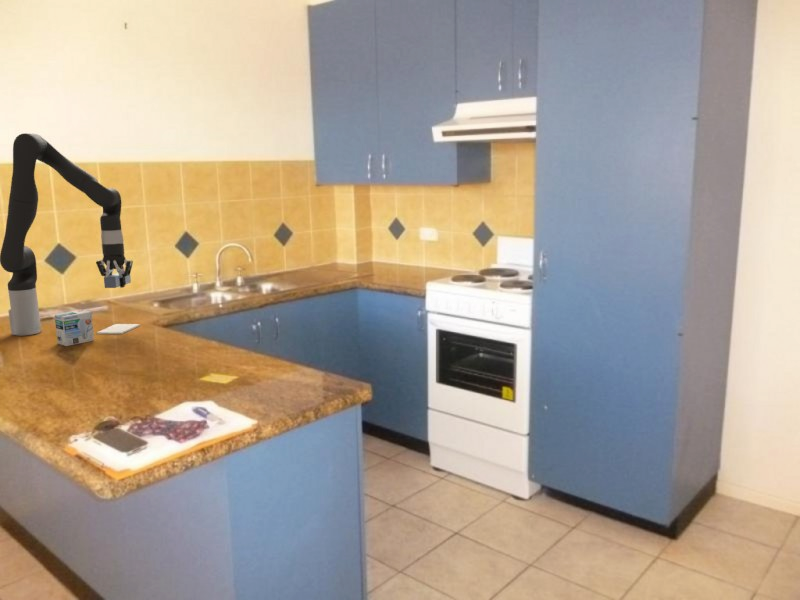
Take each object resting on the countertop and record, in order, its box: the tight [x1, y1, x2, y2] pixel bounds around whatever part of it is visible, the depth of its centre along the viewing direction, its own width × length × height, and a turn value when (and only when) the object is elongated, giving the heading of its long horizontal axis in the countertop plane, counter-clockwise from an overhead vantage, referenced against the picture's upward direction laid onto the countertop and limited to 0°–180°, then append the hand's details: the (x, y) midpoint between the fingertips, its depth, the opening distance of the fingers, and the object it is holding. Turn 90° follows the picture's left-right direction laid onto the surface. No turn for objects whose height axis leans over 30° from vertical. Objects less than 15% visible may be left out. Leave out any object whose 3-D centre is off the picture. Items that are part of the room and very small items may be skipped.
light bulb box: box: [54, 309, 95, 347], centre depth 241 cm, size 11×7×11 cm, turn 143°
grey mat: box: [96, 323, 141, 335], centre depth 260 cm, size 10×14×1 cm
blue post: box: [103, 272, 132, 289], centre depth 256 cm, size 4×4×12 cm
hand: (116, 287), depth 255 cm, fingers closed on blue post, 4 cm apart
